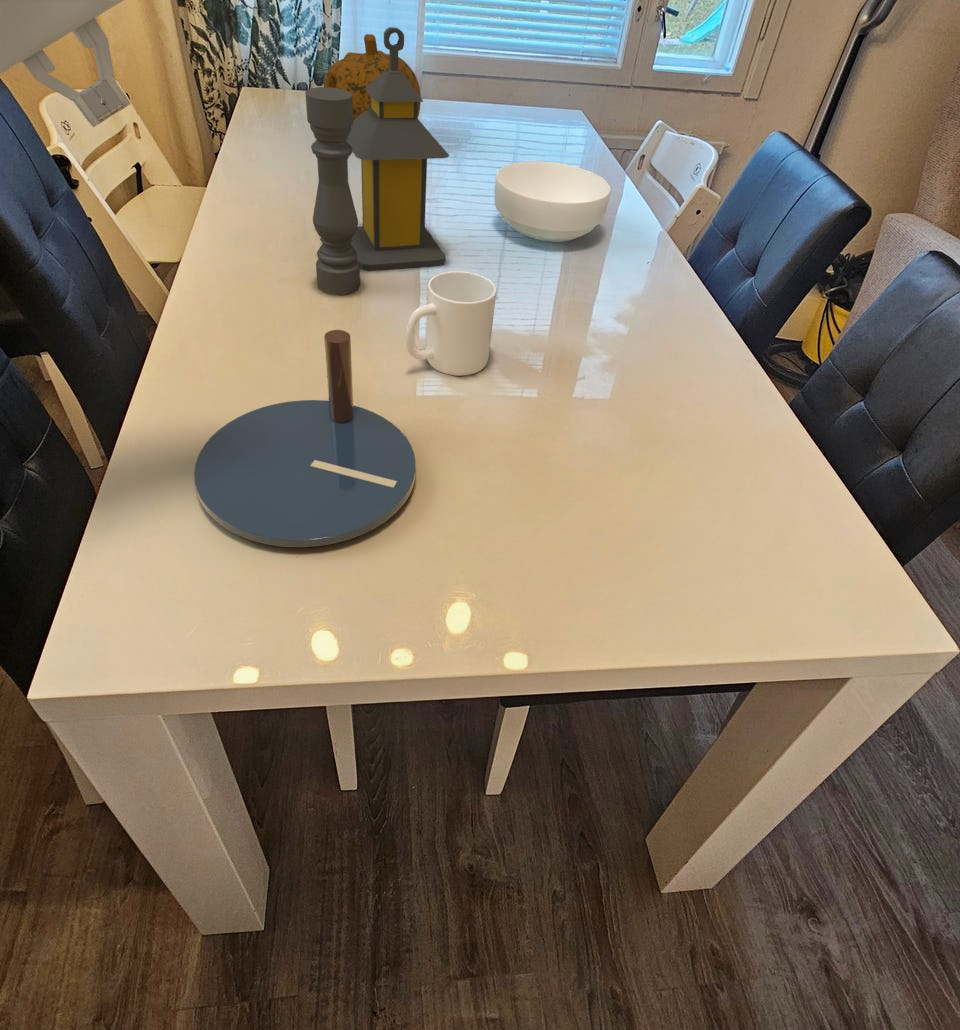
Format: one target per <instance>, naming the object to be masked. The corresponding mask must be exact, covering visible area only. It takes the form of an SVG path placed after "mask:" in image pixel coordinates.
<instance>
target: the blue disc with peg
mask: <svg viewBox="0 0 960 1030" xmlns="http://www.w3.org/2000/svg"><path fill="white" fill-rule="evenodd" d="M323 338H324V348H325V349H324V353H325V366H326V367H325V368H326V376H327V377H326V379H327V393H328V400H324V399H323V400H322V399H321V400H320V399H306V400H305V399H303V400H301V399H300V400H289V401H284V402H279V403H273V404H270V405H265V406H262V407H260V408H256V409H254V410H250V411H249V412H246V413H244V414H242V415H239V416H238V417H236V418H233V419H232V420H231V421H228V422H227V423H226V424H225V425H223V426H222V427H221V428H219V429H218V430H217V431H216V432H215V433H213V435H211V436H210V437H209V438H208V439H207V441H205V444H204V445H203V446H202V448H201V450H200V451H199V453H198V456H197V458H196V461H195V465H194V469H193V470H194V471H193V476H194V477H193V478H194V480H193V481H194V486H195V489H196V493H197V497H198V499H199V501H200V504H201V505H202V507H203V509H204V510H205V511H206V513H207V514H208V515H209V516H210V517H211V518H212V519H213V520H214V521H215V522H216V523H217V524H218V525H220V526H221V527H222V528H225V529H226V530H227V531H229V532H231V533H233V534H235V535H237V536H239V537H241V538H244V539H245V540H250V541H252V542H256V543H259V544H264V545H269V546H274V547H275V546H276V547H283V548H311V547H312V548H313V547H321V546H322V547H323V546H327V545H335V544H338V543H341V542H346V541H350V540H352V539H354V538H357V537H360V536H363V535H365V534H367V533H369V532H371V531H373V530H374V529H377V528H378V527H380V526H382V525H383V524H385V522H388V520H389V519H391V518H392V517H393V516H394V515H396V514H397V513H398V511H400V509H401V508H402V507H403V506H404V504H405V503H406V501H407V500H408V498H409V497H410V495H411V493H412V491H413V488H414V485H415V480H416V472H417V471H416V470H417V469H416V467H417V465H416V464H417V462H416V457H415V452H414V450H413V446H412V444H411V443H410V441H409V439H408V438H407V436H406V435H405V433H403V432H402V431H401V429H399V427H397V426H396V425H395V424H394V423H393V422H391V421H390V420H388V419H387V418H385V417H383V416H382V415H379V414H378V413H376V412H374V411H372V410H369V409H368V408H364V407H360V406H357V405H354V389H353V388H354V386H353V366H352V365H353V362H352V346H351V345H352V340H351V334H350V333H349V332H347V331H346V330H344V329H343V330H342V329H332V330H329V331H327V332H325V334H324V336H323Z"/></svg>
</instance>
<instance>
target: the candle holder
mask: <svg viewBox="0 0 960 1030" xmlns="http://www.w3.org/2000/svg"><path fill="white" fill-rule="evenodd" d="M304 95H305V106H306V120H307V122H308V124H309V128H310V130H311V132H312V133H313V136H314V138H315V141H313V143H312V144H311V145H310V150H311V152H312V154H313V155H315V157H316V159H317V160H316V162H317V174H318V175H317V178H318V181H317V182H318V183H317V187H316V189H317V190H316V195H315V201H314V207H313V214H312V224H313V227H314V229H315V232H316V234H317V235H318V236H319V237H320V238H319V239H320V242H321V245H320V247H318V249H317V252H316V256H317V260H316V262H315V272H316V284H317V288H318V290H320V291H321V292H322V293H325V294H328V295H333V296H348V295H351V294H354V293H356V292H357V291H359V289H360V287H361V271H360V270H361V269H360V265H359V262H358V260H356V258H357V256H358V255H357V252H356V250H355V249H354V248H353V246H352V245H351V242H352V241H353V240H352V237H353V236H354V234H355V232H356V230H357V227H359V219H358V214H357V210H356V208H355V204H354V200H353V196H352V192H351V191H352V190H351V188H350V184H349V167H348V166H349V164H348V163H349V162H348V160H349V157H350V156H351V155H352V154H353V151H352V147H351V145H350V144H349V143H347V139H348V136H349V133H350V132H351V126H352V124H353V96H352V94H351V93H350V92H348V91H346V90H343V89H338V88H331V87H324V86H320V87H312V88H309V89H307V90H305V92H304Z"/></svg>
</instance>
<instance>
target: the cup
mask: <svg viewBox="0 0 960 1030" xmlns="http://www.w3.org/2000/svg"><path fill="white" fill-rule="evenodd" d="M496 299H497V287H496V285H495V283H494V282H493V281H492V280H491V279H489V278H488V277H485V276H483V275H481V274H478V273H474V272H470V271H461V270H460V271H458V270H457V271H456V270H455V271H454V270H453V271H445V272H441V273H438V274H435V275H434V276H433V277H431V278H430V279H429V281H428V283H427V301H426V304H424V305H420V306H419V307H417V308H415V309H414V310H413V311H412V312H411V314H410V316H409V318H408V322H407V325H406V331H405V345H406V349H407V352H408V354H409V355H410V356H411V357H412V358H414V359H416V360H419V361H420V360H427V362H428V363H429V365H430V366H431V367H432V368H433V369H434V370H436V371H438V372H440V373H442V374H446V375H451V376H456V377H457V376H458V377H459V376H463V377H464V376H470V375H471V376H472V375H475V374H477V373H479V372H480V371H482V370H483V369H484V368H485V367H486V365H487V364H488V361H489V358H490V352H491V342H492V334H493V324H494V316H495V308H496V307H495V306H496ZM423 317H426V327H425V348H423V349H418V348H417V346H416V343H415V341H416V340H415V339H416V338H415V336H416V330H417V326H418V323H419V321H420V319H422V318H423Z"/></svg>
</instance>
